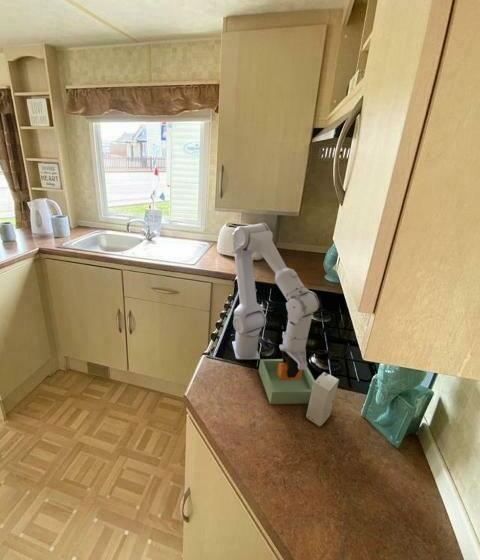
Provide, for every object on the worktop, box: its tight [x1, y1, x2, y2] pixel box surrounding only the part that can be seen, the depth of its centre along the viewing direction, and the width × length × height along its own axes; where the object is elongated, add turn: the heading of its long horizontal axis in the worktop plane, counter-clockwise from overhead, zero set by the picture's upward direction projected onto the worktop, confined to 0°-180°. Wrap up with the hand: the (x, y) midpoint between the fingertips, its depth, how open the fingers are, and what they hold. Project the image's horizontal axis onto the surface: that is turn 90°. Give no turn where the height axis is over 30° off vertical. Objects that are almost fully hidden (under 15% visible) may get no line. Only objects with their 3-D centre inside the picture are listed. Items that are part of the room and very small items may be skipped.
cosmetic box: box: [305, 371, 340, 427], centre depth 81 cm, size 6×4×12 cm
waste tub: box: [258, 358, 316, 405], centre depth 93 cm, size 14×14×4 cm
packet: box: [277, 363, 302, 380], centre depth 91 cm, size 3×6×4 cm, turn 93°
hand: (289, 372), depth 91 cm, fingers closed on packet, 3 cm apart
